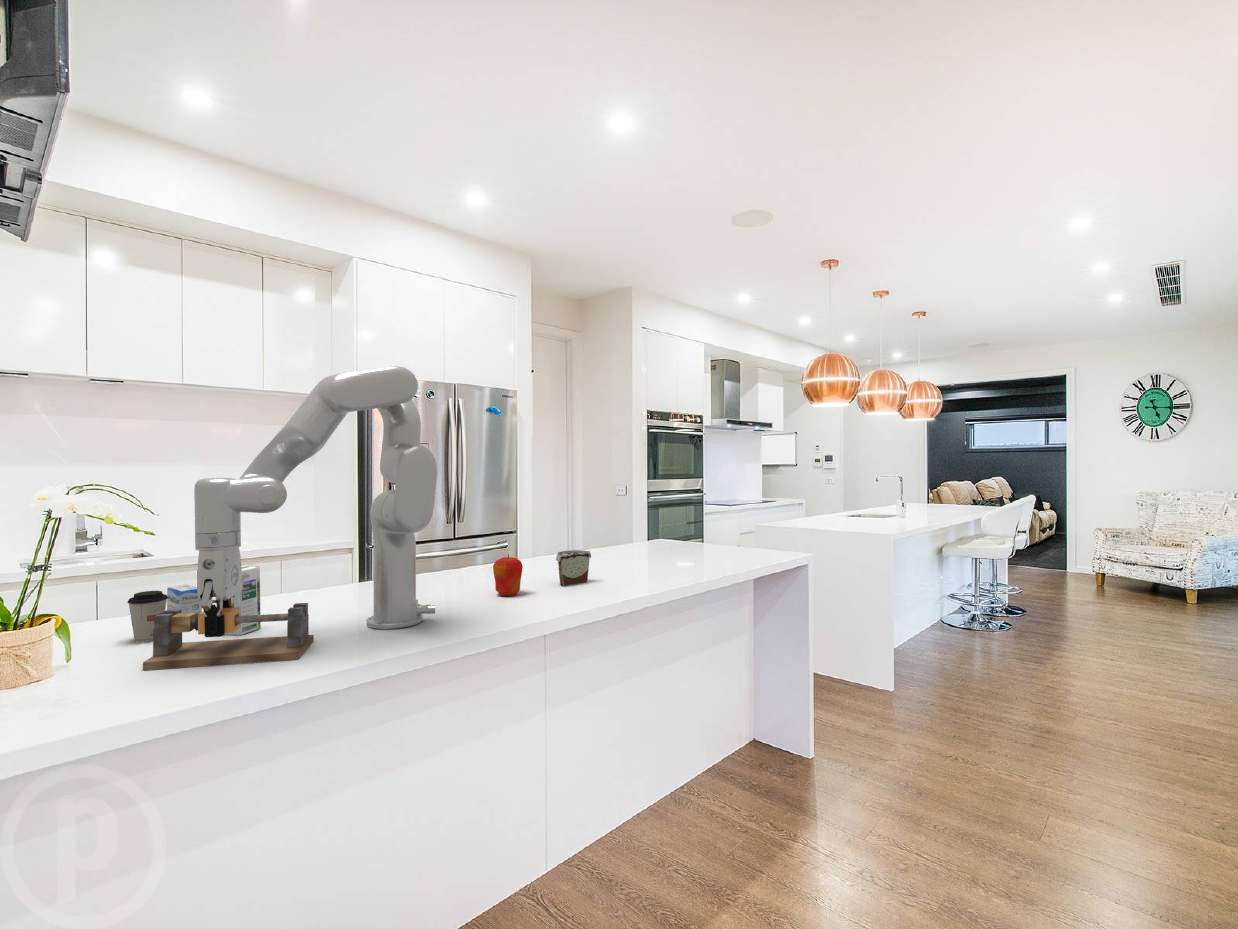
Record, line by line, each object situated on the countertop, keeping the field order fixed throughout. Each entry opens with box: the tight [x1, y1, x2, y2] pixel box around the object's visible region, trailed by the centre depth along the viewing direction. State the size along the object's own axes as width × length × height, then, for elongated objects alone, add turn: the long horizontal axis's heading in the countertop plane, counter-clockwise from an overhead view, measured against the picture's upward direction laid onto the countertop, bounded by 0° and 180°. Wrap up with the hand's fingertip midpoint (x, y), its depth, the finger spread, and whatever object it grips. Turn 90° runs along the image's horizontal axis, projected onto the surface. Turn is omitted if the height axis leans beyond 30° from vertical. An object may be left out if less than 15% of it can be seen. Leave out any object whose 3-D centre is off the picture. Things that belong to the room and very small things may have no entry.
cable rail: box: [142, 602, 315, 671], centre depth 120 cm, size 26×12×9 cm, turn 104°
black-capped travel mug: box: [127, 590, 168, 643], centre depth 130 cm, size 7×7×10 cm
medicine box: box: [166, 584, 203, 613], centre depth 142 cm, size 8×4×9 cm, turn 56°
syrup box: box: [224, 565, 262, 636], centre depth 136 cm, size 6×6×14 cm
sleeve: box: [197, 607, 241, 635], centre depth 119 cm, size 6×4×4 cm, turn 104°
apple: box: [492, 554, 523, 597], centre depth 174 cm, size 9×8×12 cm
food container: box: [555, 549, 592, 588], centre depth 190 cm, size 12×6×10 cm, turn 130°
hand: (219, 632), depth 119 cm, fingers closed on sleeve, 4 cm apart
